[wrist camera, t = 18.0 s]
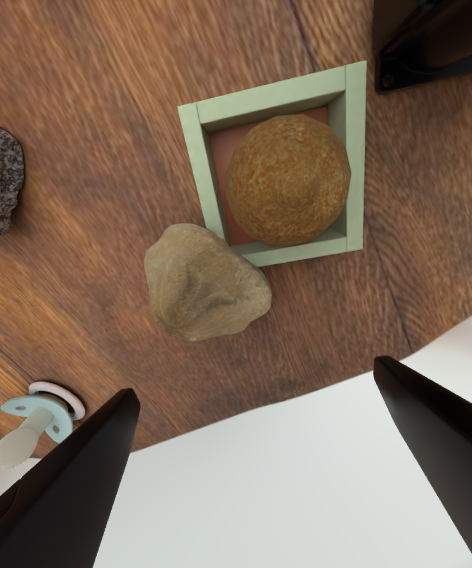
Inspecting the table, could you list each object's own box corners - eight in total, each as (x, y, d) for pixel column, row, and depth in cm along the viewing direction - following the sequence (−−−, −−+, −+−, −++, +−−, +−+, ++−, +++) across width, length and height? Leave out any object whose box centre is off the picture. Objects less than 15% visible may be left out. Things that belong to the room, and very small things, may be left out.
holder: (339, 85, 15) (367, 59, 12) (341, 236, 19) (362, 249, 15) (190, 120, 16) (176, 106, 12) (221, 257, 20) (217, 274, 16)
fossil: (182, 189, 13) (140, 272, 20) (125, 231, 10) (101, 308, 18) (299, 295, 15) (220, 335, 22) (277, 356, 12) (195, 378, 19)
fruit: (218, 143, 16) (198, 116, 8) (316, 118, 15) (389, 63, 8) (239, 237, 18) (237, 279, 11) (324, 219, 17) (383, 251, 10)
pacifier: (43, 367, 25) (12, 394, 27) (-14, 423, 19) (-50, 453, 21) (100, 406, 27) (68, 429, 29) (64, 466, 22) (26, 491, 23)
